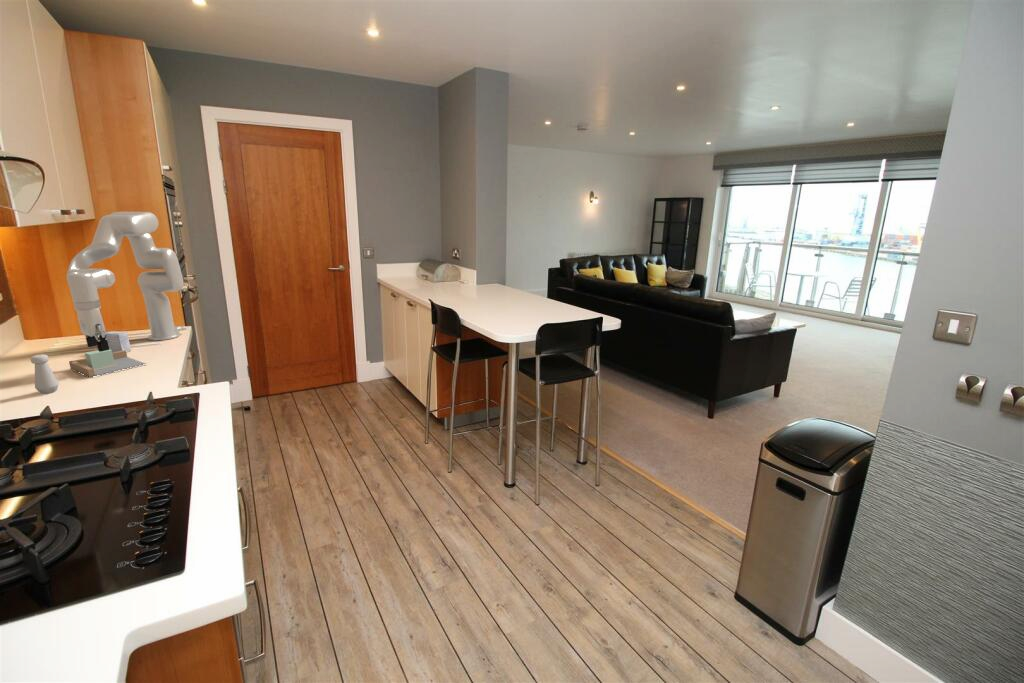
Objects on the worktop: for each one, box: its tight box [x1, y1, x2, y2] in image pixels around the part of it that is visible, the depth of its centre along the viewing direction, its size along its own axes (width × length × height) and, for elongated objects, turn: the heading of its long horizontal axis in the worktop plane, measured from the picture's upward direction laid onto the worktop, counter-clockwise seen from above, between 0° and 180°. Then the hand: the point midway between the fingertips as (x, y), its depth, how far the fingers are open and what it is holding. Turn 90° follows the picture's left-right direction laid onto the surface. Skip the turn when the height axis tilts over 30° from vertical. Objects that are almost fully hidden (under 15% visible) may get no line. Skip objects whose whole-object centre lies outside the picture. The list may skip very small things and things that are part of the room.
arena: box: [68, 350, 147, 378], centre depth 190 cm, size 18×18×3 cm
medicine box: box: [105, 330, 132, 353], centre depth 209 cm, size 8×4×9 cm, turn 84°
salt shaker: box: [30, 353, 59, 395], centre depth 163 cm, size 6×6×13 cm
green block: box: [84, 349, 115, 369], centre depth 188 cm, size 4×7×6 cm, turn 149°
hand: (98, 348), depth 188 cm, fingers open, 9 cm apart
